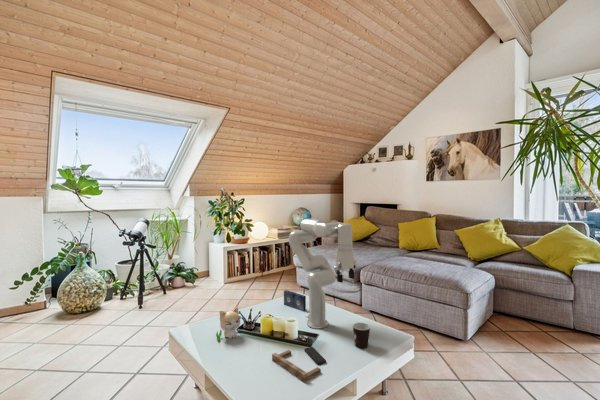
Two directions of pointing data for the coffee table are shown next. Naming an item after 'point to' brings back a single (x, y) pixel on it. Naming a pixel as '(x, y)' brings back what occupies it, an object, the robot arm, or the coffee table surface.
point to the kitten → (229, 323)
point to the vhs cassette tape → (295, 300)
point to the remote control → (315, 356)
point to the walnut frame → (293, 366)
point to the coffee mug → (361, 335)
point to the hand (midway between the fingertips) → (345, 280)
